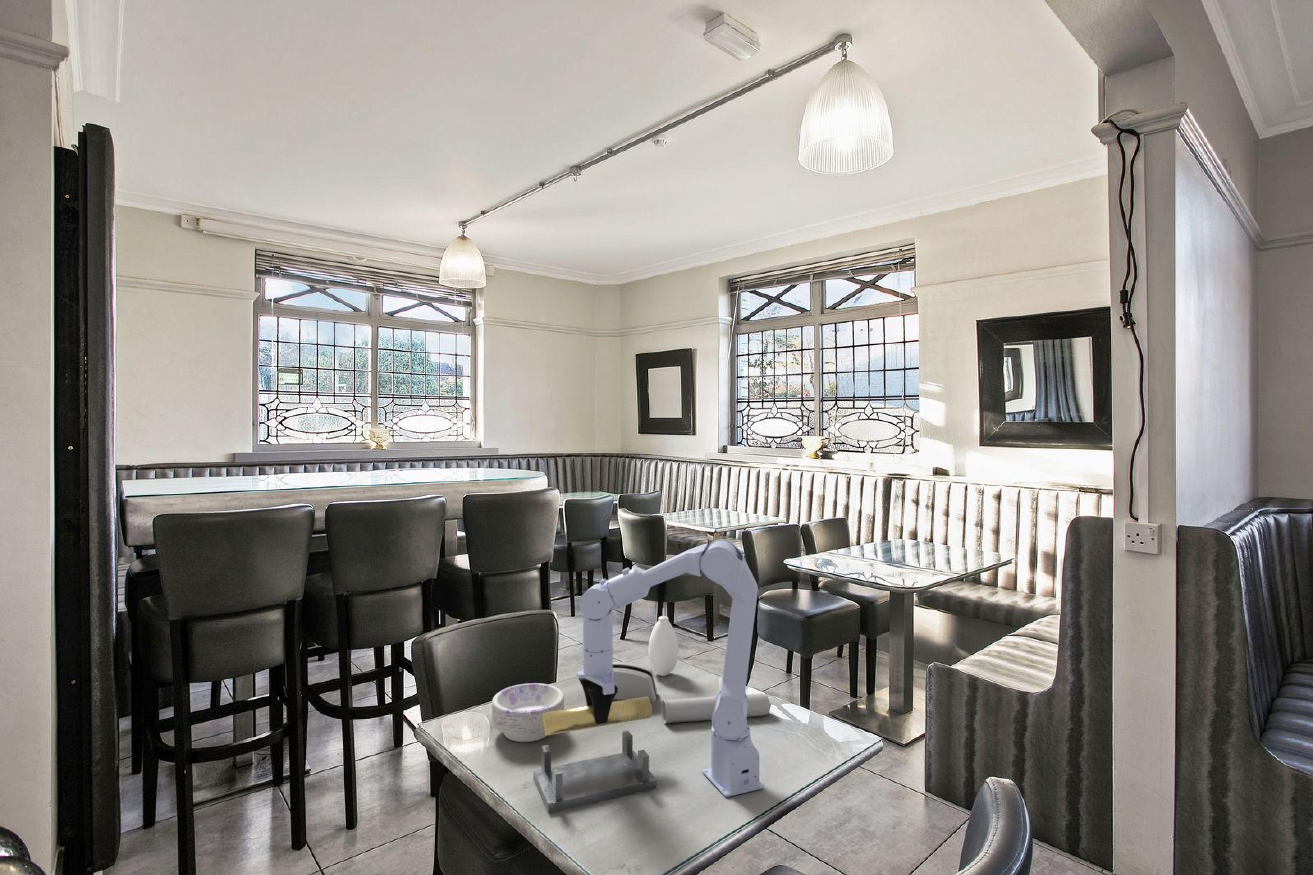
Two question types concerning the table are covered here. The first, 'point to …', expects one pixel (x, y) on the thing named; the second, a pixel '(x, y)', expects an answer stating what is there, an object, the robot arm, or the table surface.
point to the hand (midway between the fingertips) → (597, 718)
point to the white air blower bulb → (663, 647)
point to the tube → (707, 708)
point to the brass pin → (585, 716)
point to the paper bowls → (525, 710)
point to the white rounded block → (633, 681)
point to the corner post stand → (593, 777)
